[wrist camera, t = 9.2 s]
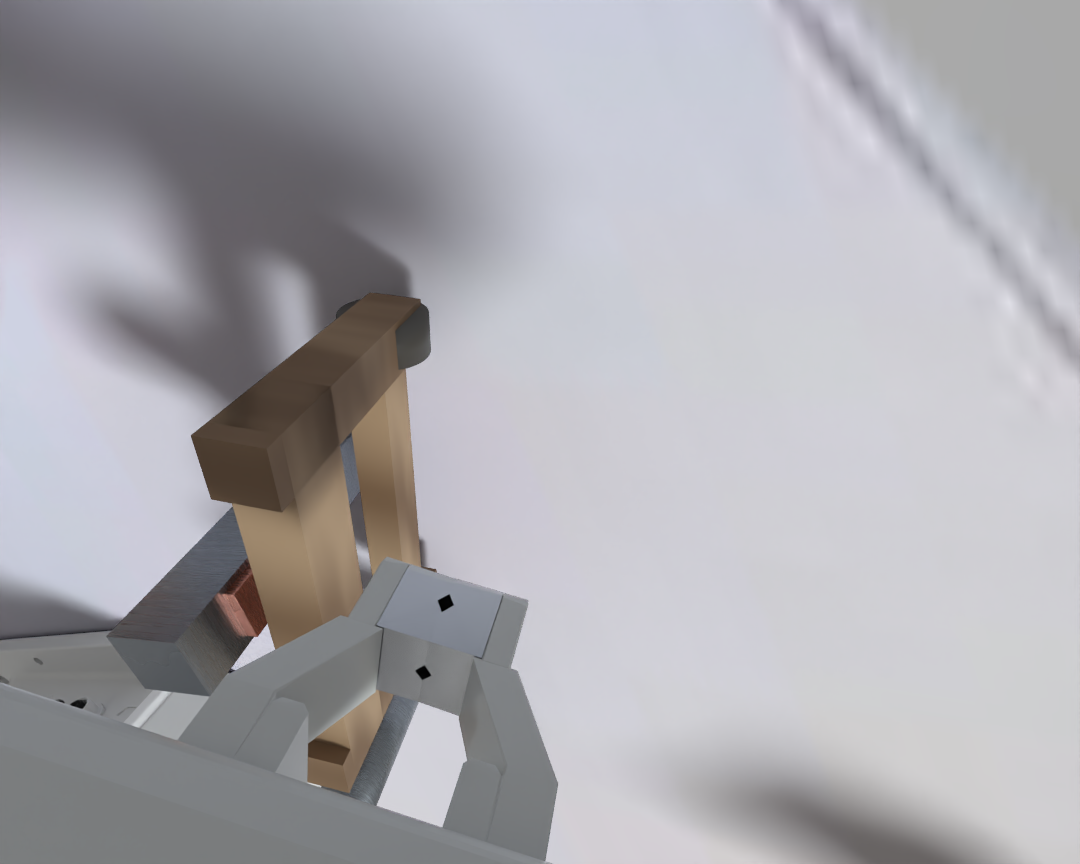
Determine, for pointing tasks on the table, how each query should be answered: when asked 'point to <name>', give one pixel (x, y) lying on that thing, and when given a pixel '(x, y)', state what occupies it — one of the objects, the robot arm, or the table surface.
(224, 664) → the posts
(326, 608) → the gate
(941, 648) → the table surface
